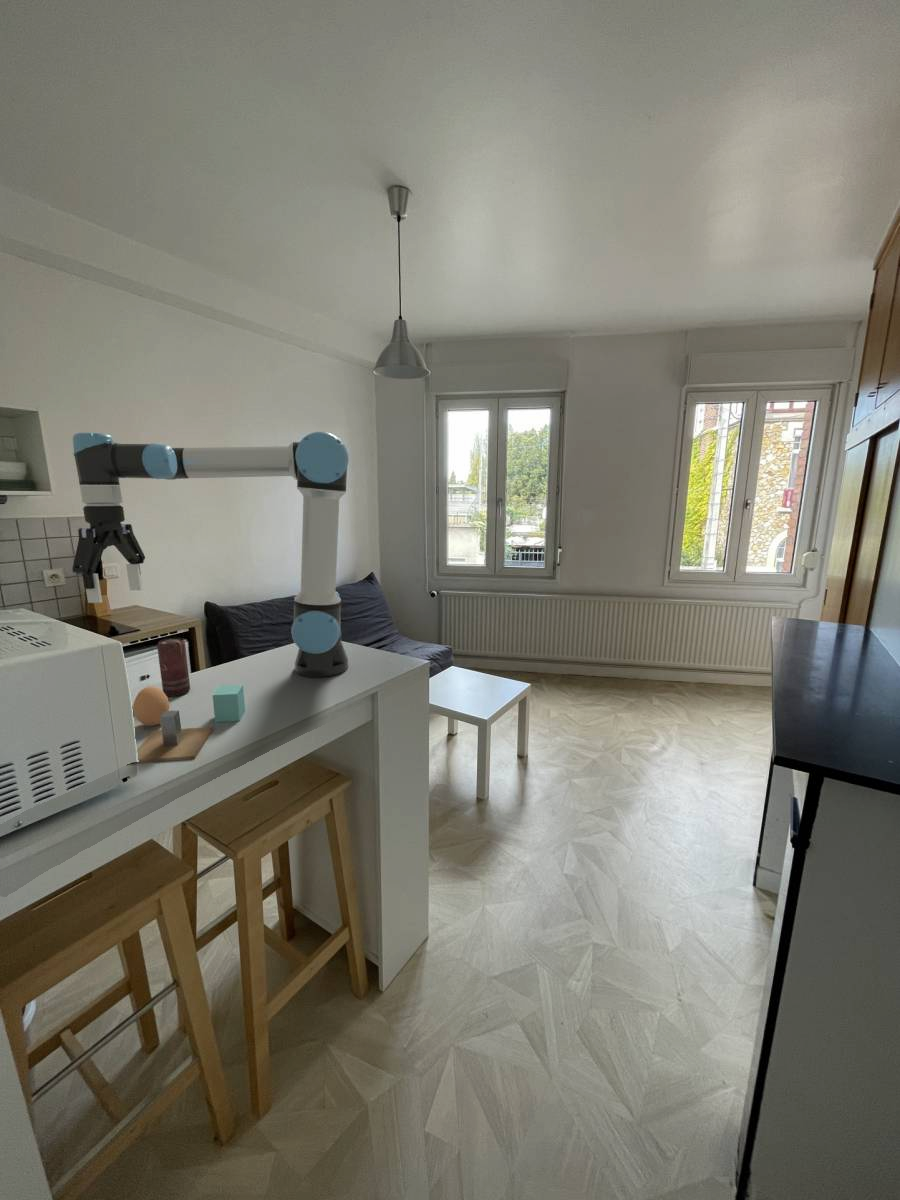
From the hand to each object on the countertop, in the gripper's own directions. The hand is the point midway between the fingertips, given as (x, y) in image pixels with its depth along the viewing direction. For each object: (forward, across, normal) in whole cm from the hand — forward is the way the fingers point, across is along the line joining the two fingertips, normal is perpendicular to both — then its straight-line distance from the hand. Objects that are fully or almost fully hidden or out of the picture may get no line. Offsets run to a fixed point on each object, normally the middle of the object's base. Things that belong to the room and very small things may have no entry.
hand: (116, 596), depth 116 cm
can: (+26, -4, +9) cm, 28 cm away
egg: (+26, +13, +14) cm, 32 cm away
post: (+26, +21, +24) cm, 41 cm away
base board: (+26, +21, +24) cm, 41 cm away
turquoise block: (+26, +8, +29) cm, 40 cm away
